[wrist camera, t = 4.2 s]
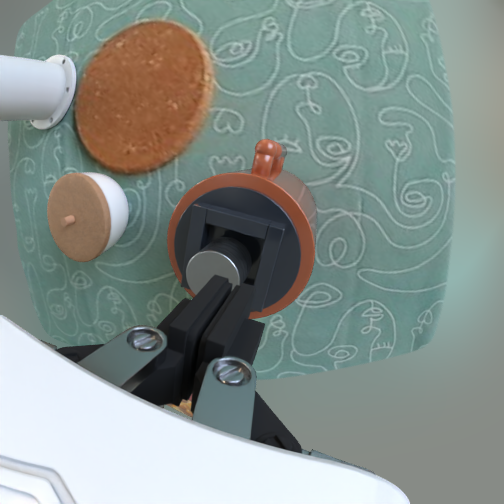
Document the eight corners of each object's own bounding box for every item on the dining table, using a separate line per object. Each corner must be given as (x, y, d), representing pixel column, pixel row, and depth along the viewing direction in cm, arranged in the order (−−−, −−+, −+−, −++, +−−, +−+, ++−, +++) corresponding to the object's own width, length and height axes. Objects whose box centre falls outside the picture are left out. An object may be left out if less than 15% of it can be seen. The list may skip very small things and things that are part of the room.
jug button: (201, 275, 20) (182, 294, 17) (208, 231, 19) (189, 244, 16) (245, 289, 20) (233, 311, 17) (256, 244, 19) (245, 260, 16)
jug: (212, 248, 36) (148, 304, 22) (236, 134, 31) (173, 120, 17) (301, 274, 35) (286, 351, 21) (334, 158, 30) (347, 158, 16)
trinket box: (110, 257, 40) (66, 282, 31) (74, 198, 39) (28, 211, 30) (157, 217, 36) (112, 236, 28) (116, 151, 35) (66, 155, 26)
